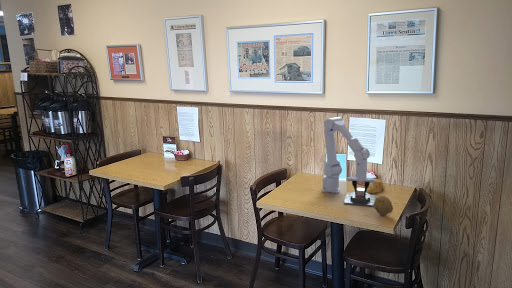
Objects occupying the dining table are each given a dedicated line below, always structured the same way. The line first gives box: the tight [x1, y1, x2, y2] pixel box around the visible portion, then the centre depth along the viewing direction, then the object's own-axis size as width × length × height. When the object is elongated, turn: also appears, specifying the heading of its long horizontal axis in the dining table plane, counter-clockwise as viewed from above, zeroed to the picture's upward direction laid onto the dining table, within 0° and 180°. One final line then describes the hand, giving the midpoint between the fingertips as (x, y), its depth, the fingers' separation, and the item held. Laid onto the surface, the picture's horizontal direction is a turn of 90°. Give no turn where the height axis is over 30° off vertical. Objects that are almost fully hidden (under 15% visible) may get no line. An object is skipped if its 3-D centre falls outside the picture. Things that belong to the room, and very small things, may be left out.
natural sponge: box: [373, 195, 394, 216], centre depth 192 cm, size 9×9×10 cm
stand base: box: [343, 191, 377, 208], centre depth 212 cm, size 16×16×4 cm
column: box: [356, 187, 365, 197], centre depth 212 cm, size 4×4×6 cm
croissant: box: [366, 178, 384, 195], centre depth 228 cm, size 21×10×8 cm, turn 144°
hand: (360, 194), depth 212 cm, fingers closed on column, 4 cm apart
